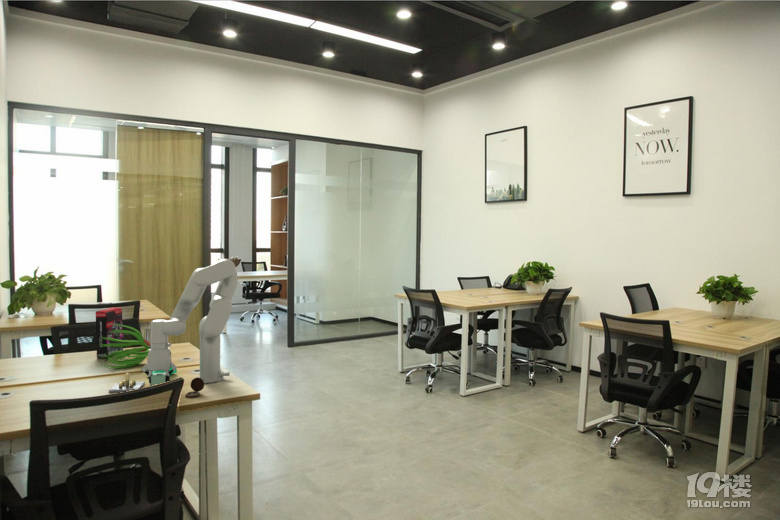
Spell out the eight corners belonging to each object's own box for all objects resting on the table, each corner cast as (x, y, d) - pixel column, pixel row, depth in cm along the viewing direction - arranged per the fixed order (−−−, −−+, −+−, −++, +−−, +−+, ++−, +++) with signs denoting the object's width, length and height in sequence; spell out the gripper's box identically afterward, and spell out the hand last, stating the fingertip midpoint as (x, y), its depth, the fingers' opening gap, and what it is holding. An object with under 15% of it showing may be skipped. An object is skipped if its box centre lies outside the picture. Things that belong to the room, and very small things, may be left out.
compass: (182, 398, 219) (182, 381, 219) (192, 392, 227) (192, 376, 227) (199, 399, 218) (199, 382, 218) (208, 393, 226) (208, 377, 226)
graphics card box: (107, 359, 286) (107, 311, 285) (95, 359, 286) (94, 311, 285) (123, 352, 303) (123, 307, 302) (112, 352, 303) (112, 307, 302)
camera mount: (167, 372, 261) (167, 352, 260) (176, 374, 257) (176, 354, 256) (145, 377, 251) (145, 356, 250) (154, 379, 247) (154, 359, 246)
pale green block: (167, 382, 241) (167, 372, 241) (164, 386, 235) (164, 375, 235) (153, 383, 240) (153, 373, 239) (151, 387, 234) (150, 376, 234)
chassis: (144, 383, 239) (144, 369, 238) (138, 391, 227) (138, 375, 227) (116, 385, 236) (116, 370, 236) (108, 392, 224) (108, 377, 224)
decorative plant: (165, 373, 278) (109, 383, 253) (141, 357, 292) (86, 365, 267) (172, 328, 275) (116, 334, 250) (148, 314, 289) (93, 318, 264)
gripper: (180, 343, 242) (180, 381, 243) (141, 345, 238) (141, 382, 239) (177, 347, 235) (177, 385, 236) (137, 348, 231) (137, 387, 232)
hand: (159, 383), depth 237 cm, fingers closed on pale green block, 6 cm apart
